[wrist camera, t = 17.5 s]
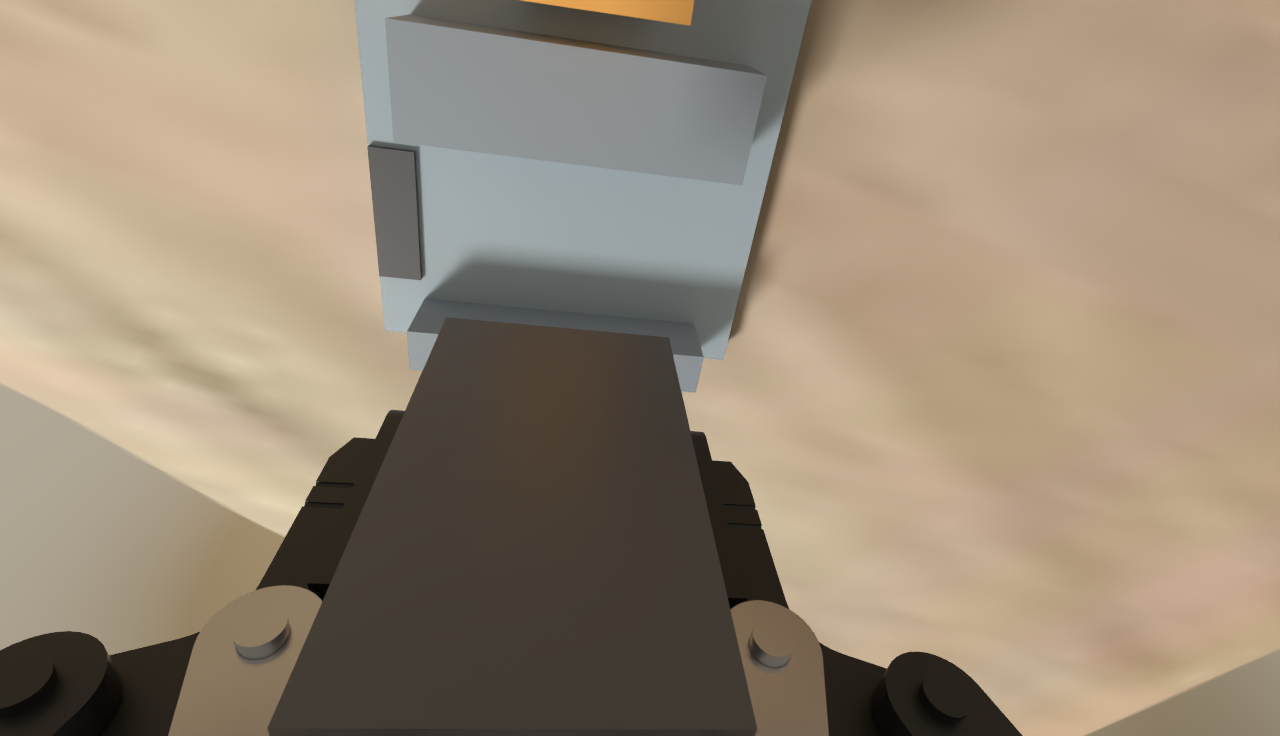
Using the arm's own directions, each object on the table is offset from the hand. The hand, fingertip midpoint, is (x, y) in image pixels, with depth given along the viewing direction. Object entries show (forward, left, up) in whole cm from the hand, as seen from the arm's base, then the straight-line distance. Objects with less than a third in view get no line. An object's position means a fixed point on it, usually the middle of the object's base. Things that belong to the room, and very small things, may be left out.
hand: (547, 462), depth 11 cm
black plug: (0, 0, -1) cm, 1 cm away
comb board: (0, -4, -13) cm, 14 cm away
